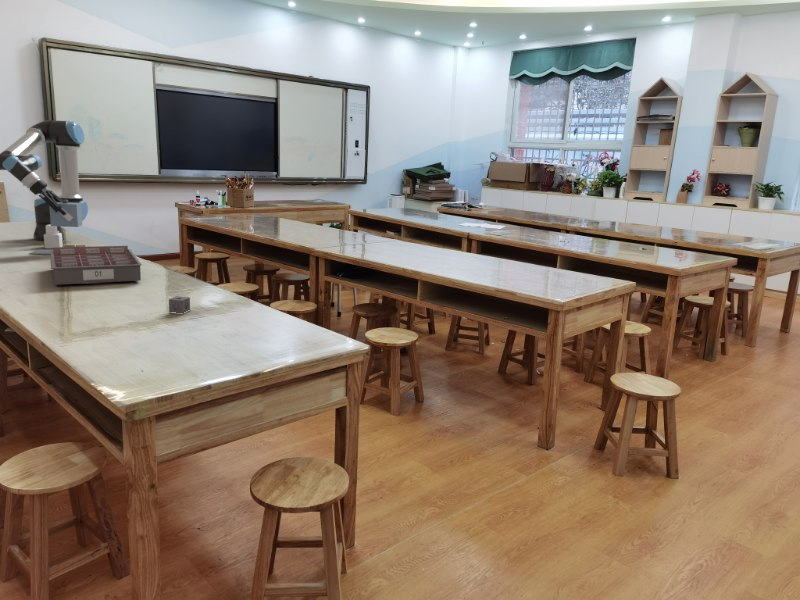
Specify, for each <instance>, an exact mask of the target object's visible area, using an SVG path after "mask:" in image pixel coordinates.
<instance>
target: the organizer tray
mask: <svg viewBox="0 0 800 600" xmlns="http://www.w3.org/2000/svg"><path fill="white" fill-rule="evenodd" d="M52 250H53V251H51V252H50V255H49V256H50V257H49V258H50V269H52V270H53V281H54V286H55V285H72V284H73V285H75V284H78V285H79V284H93V283H94V284H97V283H115V282H116V283H118V282H132V281H133V282H135V281H138V282H139V281H141V280H142V279H141V278H142V277H141V275H142V274H141V266H143V264H142V263H141V262H140V260H139V259H138V258H137V257H136V255H135V254H134V252H133V251H132V250H131V249H129V247H128V245H104V246H101V245H99V246H92V245H91V246H85V247H64V246H62V247H53V248H52Z"/></svg>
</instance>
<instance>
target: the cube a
mask: <svg viewBox="0 0 800 600" xmlns="http://www.w3.org/2000/svg"><path fill="white" fill-rule="evenodd" d="M75 246H76V245H75V244H65V245H63V247H75Z"/></svg>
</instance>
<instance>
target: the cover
mask: <svg viewBox="0 0 800 600" xmlns="http://www.w3.org/2000/svg"><path fill="white" fill-rule="evenodd" d="M57 203H58V205H59V206H60V207H61V208H63V209H64V210H66V211H67V212H68V213H69V214H70V215H71V216H72V217H73V218H72V219H71V220H70V221H68V220H67V219H66V218H65V217H63V216H62V215H61V214H60V213H59V212H55V211H54V210H53V209H52V208H51V207H50V206H49V208H50V221H51V226H60V227H61V228H62V227H63V228H67V227H68V228H70V227H71V228H79V227H81V226H83V221H82V211H81V203H68V200H62V202H57Z"/></svg>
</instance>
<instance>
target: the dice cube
mask: <svg viewBox="0 0 800 600" xmlns="http://www.w3.org/2000/svg"><path fill="white" fill-rule="evenodd" d="M188 310H190V311H191V297H189V296H179V295H175V296H173V297H171V298H169V299H168V313H169V312H176V313H184V312H186V311H188Z"/></svg>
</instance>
